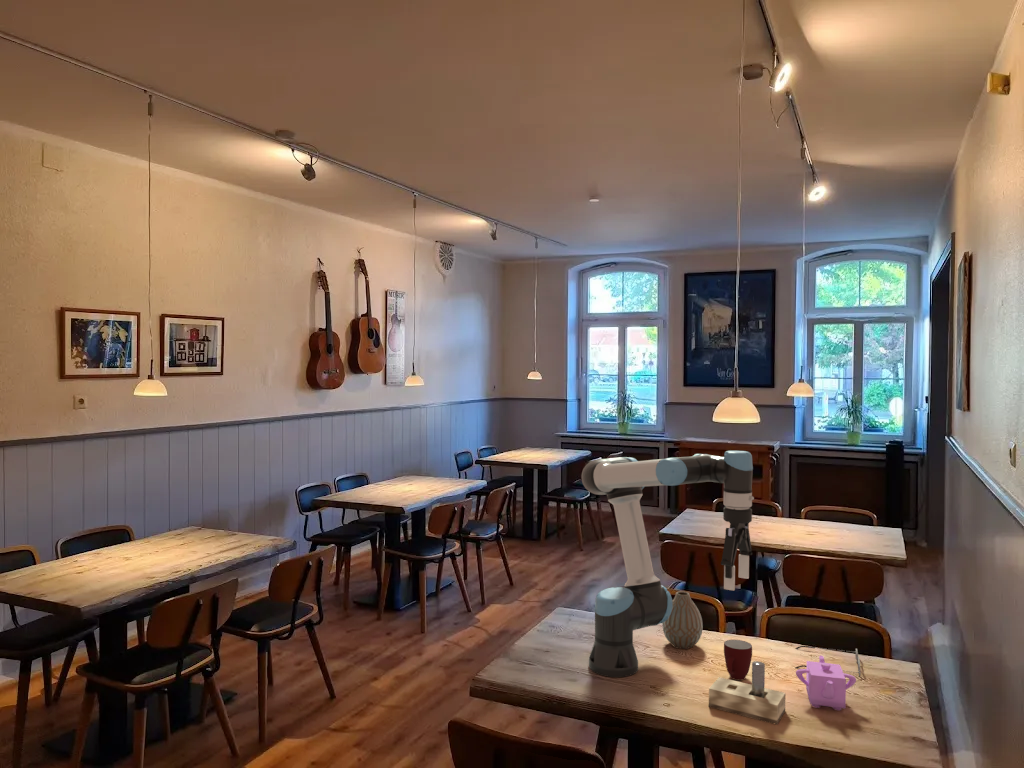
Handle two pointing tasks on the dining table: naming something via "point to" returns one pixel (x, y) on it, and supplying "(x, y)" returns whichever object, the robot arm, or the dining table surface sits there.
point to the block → (746, 700)
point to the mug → (737, 658)
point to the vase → (683, 622)
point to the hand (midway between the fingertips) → (736, 583)
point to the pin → (758, 679)
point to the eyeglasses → (839, 650)
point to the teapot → (826, 684)
